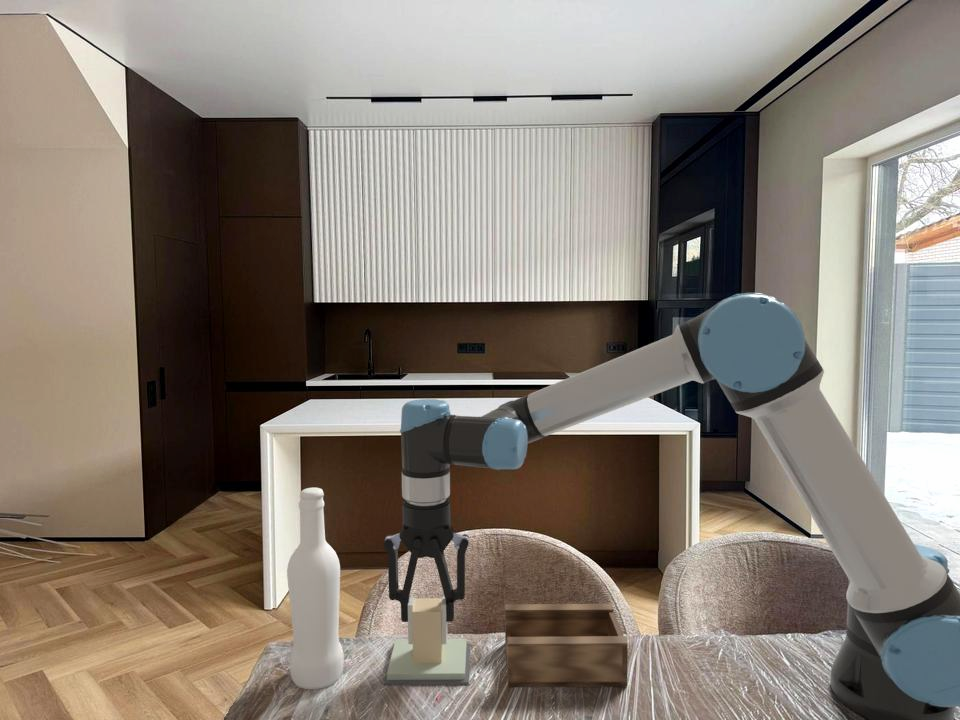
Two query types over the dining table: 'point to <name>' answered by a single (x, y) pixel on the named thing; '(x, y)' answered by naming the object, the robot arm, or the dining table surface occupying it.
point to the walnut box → (564, 646)
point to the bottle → (314, 600)
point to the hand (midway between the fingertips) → (428, 639)
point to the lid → (427, 648)
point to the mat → (433, 682)
